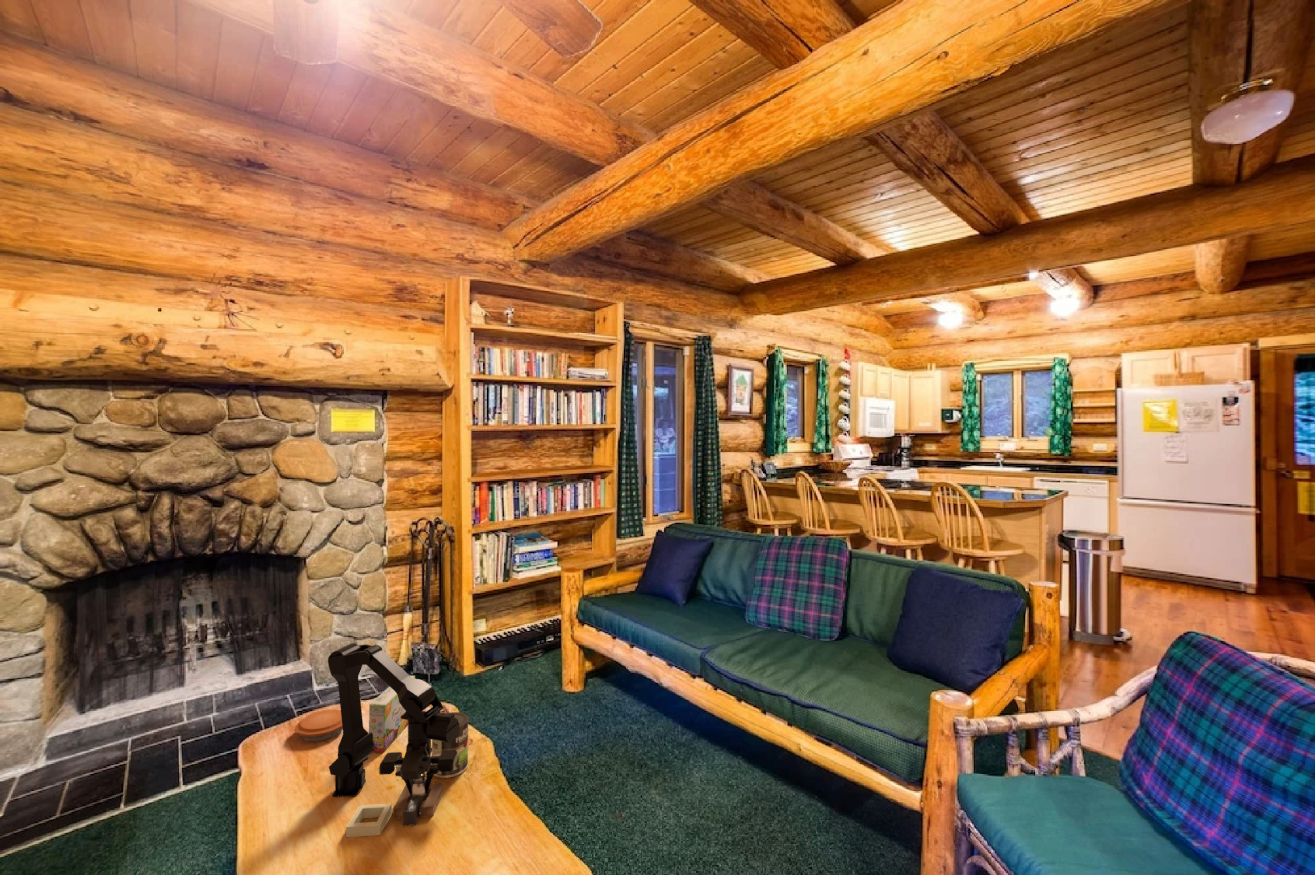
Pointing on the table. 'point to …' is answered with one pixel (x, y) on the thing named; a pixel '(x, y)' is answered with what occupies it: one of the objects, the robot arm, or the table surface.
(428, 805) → the socket block
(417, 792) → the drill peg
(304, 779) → the table surface
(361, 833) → the beige square frame
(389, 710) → the snack box
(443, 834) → the table surface
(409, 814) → the dark grey block
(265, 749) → the table surface
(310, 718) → the pie
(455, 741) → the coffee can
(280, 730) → the table surface
